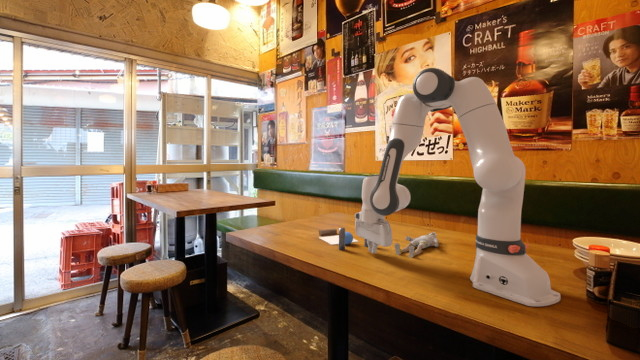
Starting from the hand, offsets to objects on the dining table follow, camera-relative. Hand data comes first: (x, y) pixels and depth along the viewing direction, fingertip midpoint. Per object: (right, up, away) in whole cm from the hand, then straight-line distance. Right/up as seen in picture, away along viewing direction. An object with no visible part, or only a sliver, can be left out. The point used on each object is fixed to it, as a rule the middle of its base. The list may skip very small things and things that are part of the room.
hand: (372, 252), depth 118 cm
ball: (-8, +2, +17) cm, 19 cm away
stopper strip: (-16, 0, +35) cm, 39 cm away
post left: (-11, -1, +9) cm, 15 cm away
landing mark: (-12, 0, +25) cm, 28 cm away
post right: (0, -1, +15) cm, 15 cm away
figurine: (+22, -2, +12) cm, 25 cm away
